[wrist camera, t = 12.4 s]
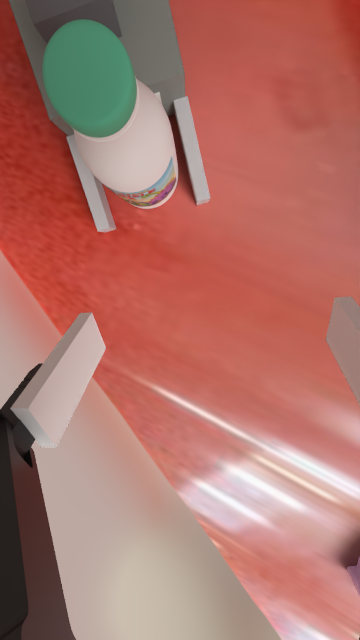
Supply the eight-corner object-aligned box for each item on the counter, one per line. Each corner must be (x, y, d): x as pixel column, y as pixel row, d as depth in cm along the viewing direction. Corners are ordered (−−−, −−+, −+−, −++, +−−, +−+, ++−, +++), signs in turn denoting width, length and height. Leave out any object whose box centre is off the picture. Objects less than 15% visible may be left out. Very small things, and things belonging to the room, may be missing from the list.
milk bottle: (112, 140, 32) (-8, -25, 12) (177, 137, 31) (160, -36, 12) (117, 210, 34) (22, 164, 14) (179, 208, 33) (166, 158, 14)
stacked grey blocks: (160, -11, 28) (142, -169, 17) (208, 202, 33) (217, 181, 22) (40, 35, 29) (-45, -85, 18) (105, 232, 34) (68, 226, 24)
